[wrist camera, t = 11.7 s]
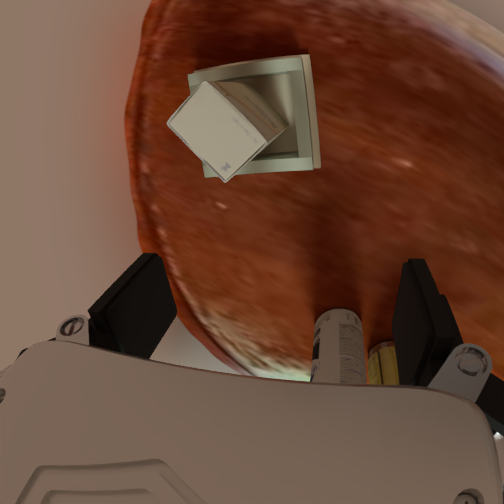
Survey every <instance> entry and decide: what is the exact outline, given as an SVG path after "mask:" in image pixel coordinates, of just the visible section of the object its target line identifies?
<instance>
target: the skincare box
mask: <svg viewBox="0 0 504 504" xmlns="http://www.w3.org/2000/svg"><path fill="white" fill-rule="evenodd" d="M167 125H168V126H169V127H170V128H171V129H172V130H173V131H174V132H175V134H176V135H177V136H178V137H179V138H180V139H181V140H182V141H183V142H184V143H185V144H186V145H187V146H188V147H189V148H190V149H191V150H192V151H193V152H194V153H195V154H196V155H197V156H198V157H199V158H200V159H201V160H202V161H203V162H204V163H205V164H206V165H207V166H208V167H209V168H210V169H211V170H212V171H213V172H214V173H215V174H216V175H217V176H218V177H219V178H220V179H221V180H222V181H223V182H225V183H226V182H227V181H228V180H229V179H231V178H232V177H233V176H234V175H235V174H236V173H237V172H238V171H239V170H241V169H242V168H243V167H244V166H245V165H246V164H247V163H248V162H249V161H251V160H252V159H253V158H254V157H255V156H256V155H257V154H258V153H260V152H261V151H262V150H263V149H264V148H265V147H266V146H267V145H269V144H270V143H271V142H272V141H273V140H274V139H275V138H276V137H277V136H279V135H280V134H281V133H282V132H283V131H284V130H285V129H286V128H287V127H288V126H289V124H288V123H287V122H286V121H285V120H284V118H283V117H282V116H281V115H280V114H279V113H278V112H277V111H276V110H275V109H274V108H273V107H272V106H271V104H270V103H269V102H268V101H267V100H266V99H265V98H264V97H263V96H262V95H260V94H259V93H258V92H257V91H256V90H255V89H254V88H253V87H252V86H251V85H250V84H245V83H235V82H219V81H204V82H203V83H202V84H201V85H200V86H199V87H198V88H197V89H196V90H195V91H194V92H193V93H192V94H191V95H190V96H189V97H188V98H187V99H186V100H185V102H184V103H183V104H182V105H181V106H180V107H179V108H178V109H177V110H176V112H175V113H174V114H173V115H172V116H171V118H170V119H169V120H168V122H167Z"/></svg>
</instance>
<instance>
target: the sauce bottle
mask: <svg viewBox="0 0 504 504" xmlns="http://www.w3.org/2000/svg"><path fill="white" fill-rule="evenodd" d="M368 372H369V381H370V384H380V385H399V377H398V368H397V360H396V353H395V345H394V341H386V342H383V343H379V344H377V345H375V346H374V347H373V348H372V349H371V351H370V352H369V354H368Z"/></svg>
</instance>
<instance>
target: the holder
mask: <svg viewBox="0 0 504 504" xmlns="http://www.w3.org/2000/svg"><path fill="white" fill-rule="evenodd" d="M188 81H189V87H190V93H191V94H192V93H193V92H194V91H195V90H196V89H197V88H198V87H199V86H200V85H201V84H202V83H203V82H204V81H219V82H235V83H245V84H250V85H251V86H252V87H253V88H254V89H255V90H256V91H257V92H258V93H259V94H260V95H262V96H263V97H264V98H265V99H266V100H267V101H268V102H269V103H270V104H271V106H272V107H273V108H274V109H275V110H276V111H277V112H278V113H279V114H280V115H281V116H282V117H283V118H284V120H285V121H286V122H287V123H288V124H289V126H288V127H287V128H286V129H285V130H284V131H283V132H282V133H281V134H280V135H279V136H277V137H276V138H275V139H274V140H273V141H272V142H271V143H270V144H269V145H267V146H266V147H265V148H264V149H263V150H262V151H261V152H260V153H258V154H257V155H256V156H255V157H254V158H253V159H252V160H251V161H249V162H248V163H247V164H246V165H245V166H244V167H243V168H242V169H241V170H239V171H238V172H237V173H236V174H235V175H238V174H250V173H264V172H279V171H298V170H313V168H321V160H320V147H319V135H318V124H317V114H316V104H315V95H314V87H313V78H312V71H311V63H310V56H309V54H307V55H294V56H283V57H274V58H265V59H258V60H250V61H244V62H238V63H232V64H226V65H221V66H215V67H211V68H206V69H201V70H197V71H194V73H193V74H189V75H188ZM202 163H203V169H204V174H205V178H206V177H216V176H217V175H216V174H215V173H214V172H213V171H212V170H211V169H210V168H209V167H208V166H207V165H206V164H205V163H204V162H203V161H202Z"/></svg>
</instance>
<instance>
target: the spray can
mask: <svg viewBox="0 0 504 504" xmlns="http://www.w3.org/2000/svg"><path fill="white" fill-rule="evenodd" d="M310 382H324V383H344V384H366V369H365V356H364V344H363V334H362V325H361V321H360V319H359V317H358V316H357V315H356V314H355V313H354V312H353V311H351V310H347V309H341V308H340V309H332V310H329V311H326V312H325V313H323V314H322V315H321V316H320V317H319V318H318V320H317V322H316V324H315V331H314V344H313V357H312V368H311V379H310Z"/></svg>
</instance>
